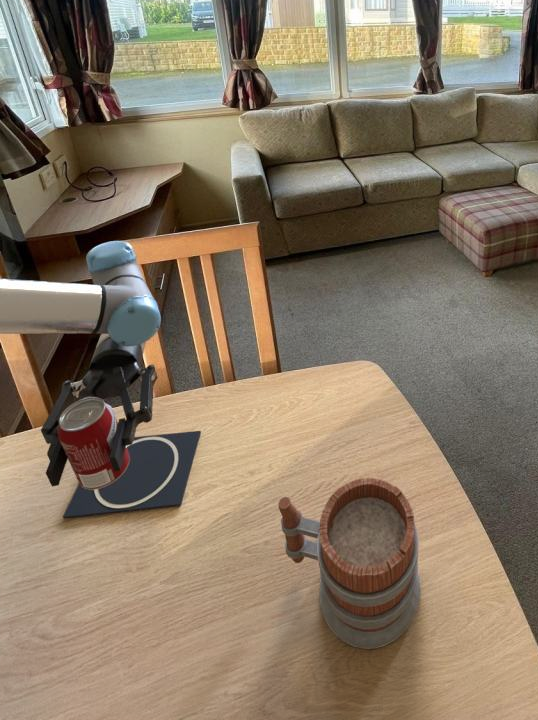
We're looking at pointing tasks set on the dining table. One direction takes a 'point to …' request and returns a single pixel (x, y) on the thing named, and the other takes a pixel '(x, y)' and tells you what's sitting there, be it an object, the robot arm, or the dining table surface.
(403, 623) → the mug
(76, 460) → the soda can
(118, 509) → the mat
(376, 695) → the dining table surface
